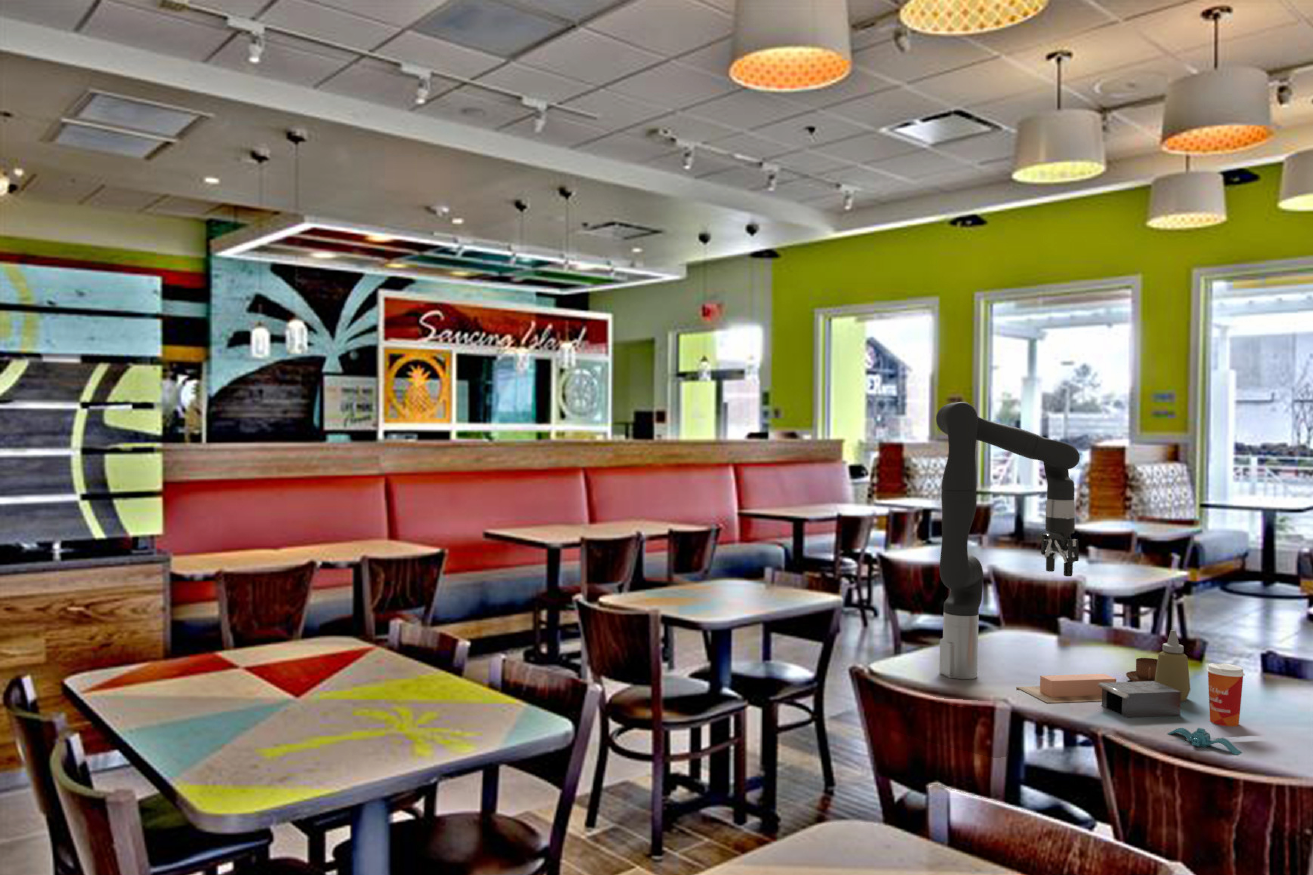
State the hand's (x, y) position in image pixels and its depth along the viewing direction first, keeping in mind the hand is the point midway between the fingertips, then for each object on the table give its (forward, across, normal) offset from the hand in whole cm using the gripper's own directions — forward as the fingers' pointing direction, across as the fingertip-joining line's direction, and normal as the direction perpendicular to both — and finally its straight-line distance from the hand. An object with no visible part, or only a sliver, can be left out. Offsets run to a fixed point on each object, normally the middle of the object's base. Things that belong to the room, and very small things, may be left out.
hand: (1059, 573), depth 266 cm
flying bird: (+29, +59, -3) cm, 66 cm away
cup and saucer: (+28, +11, +21) cm, 37 cm away
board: (+28, +22, -8) cm, 37 cm away
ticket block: (+27, +22, -8) cm, 36 cm away
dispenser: (+28, +37, -2) cm, 46 cm away
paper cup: (+28, +48, +12) cm, 57 cm away
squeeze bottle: (+28, +28, +14) cm, 42 cm away
